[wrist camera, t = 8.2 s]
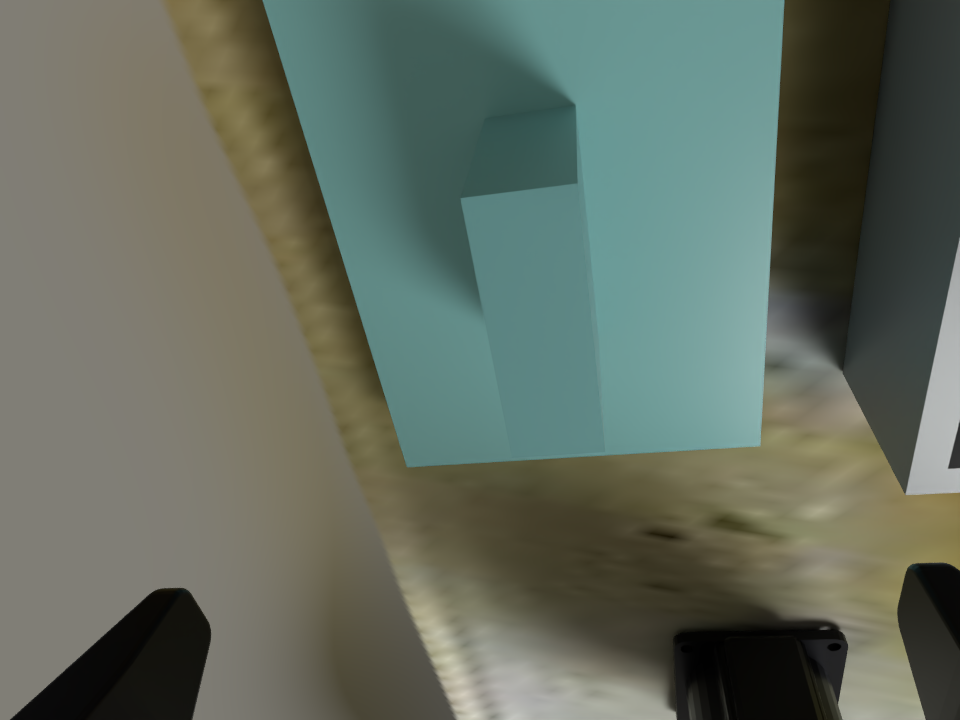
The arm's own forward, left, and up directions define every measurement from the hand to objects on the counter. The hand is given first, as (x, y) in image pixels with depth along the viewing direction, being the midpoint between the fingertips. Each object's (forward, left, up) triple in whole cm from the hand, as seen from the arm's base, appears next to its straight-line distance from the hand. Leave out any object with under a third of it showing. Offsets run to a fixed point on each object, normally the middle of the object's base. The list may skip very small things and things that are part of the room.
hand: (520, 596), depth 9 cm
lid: (0, 0, -13) cm, 13 cm away
